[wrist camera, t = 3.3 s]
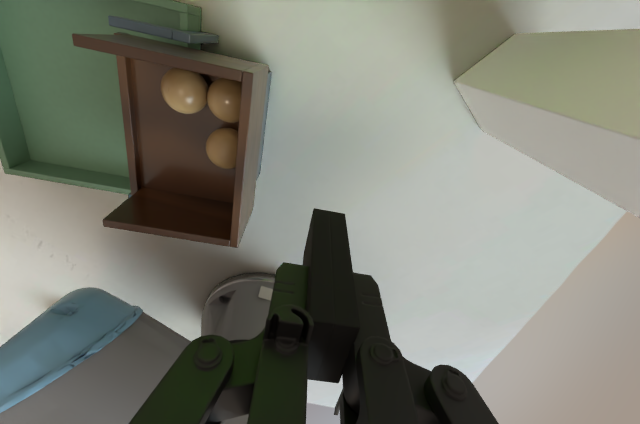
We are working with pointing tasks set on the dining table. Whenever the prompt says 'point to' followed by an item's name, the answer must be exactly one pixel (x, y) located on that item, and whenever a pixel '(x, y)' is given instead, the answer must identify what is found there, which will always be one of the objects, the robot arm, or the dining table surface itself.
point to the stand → (187, 38)
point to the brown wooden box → (182, 143)
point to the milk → (566, 105)
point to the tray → (70, 87)
